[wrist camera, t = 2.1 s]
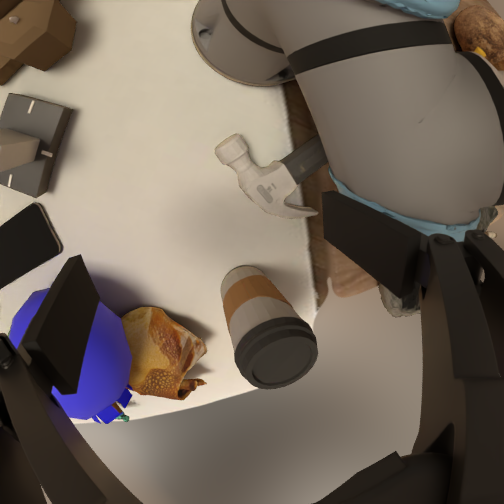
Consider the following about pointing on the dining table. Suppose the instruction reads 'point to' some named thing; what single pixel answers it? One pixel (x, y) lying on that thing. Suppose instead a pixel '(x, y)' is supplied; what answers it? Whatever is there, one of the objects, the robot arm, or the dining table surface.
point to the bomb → (90, 364)
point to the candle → (33, 34)
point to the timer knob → (16, 149)
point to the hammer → (273, 174)
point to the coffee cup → (265, 330)
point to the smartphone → (25, 243)
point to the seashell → (161, 354)
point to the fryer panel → (39, 126)
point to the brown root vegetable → (481, 33)
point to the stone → (408, 303)
